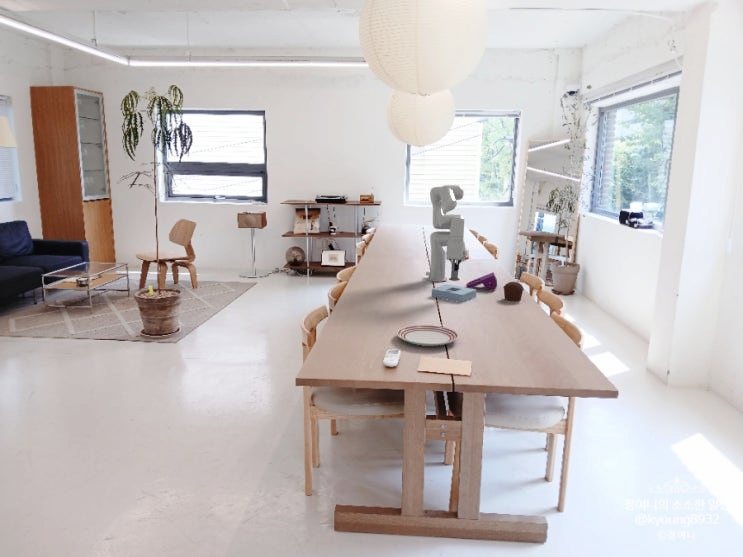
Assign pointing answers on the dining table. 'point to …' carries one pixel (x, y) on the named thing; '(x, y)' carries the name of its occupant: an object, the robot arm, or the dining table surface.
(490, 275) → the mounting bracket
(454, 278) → the steel bracket
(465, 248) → the kitchen timer
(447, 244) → the robot arm
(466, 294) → the well block
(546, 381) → the dining table surface
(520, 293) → the muffin
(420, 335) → the dinner plate
